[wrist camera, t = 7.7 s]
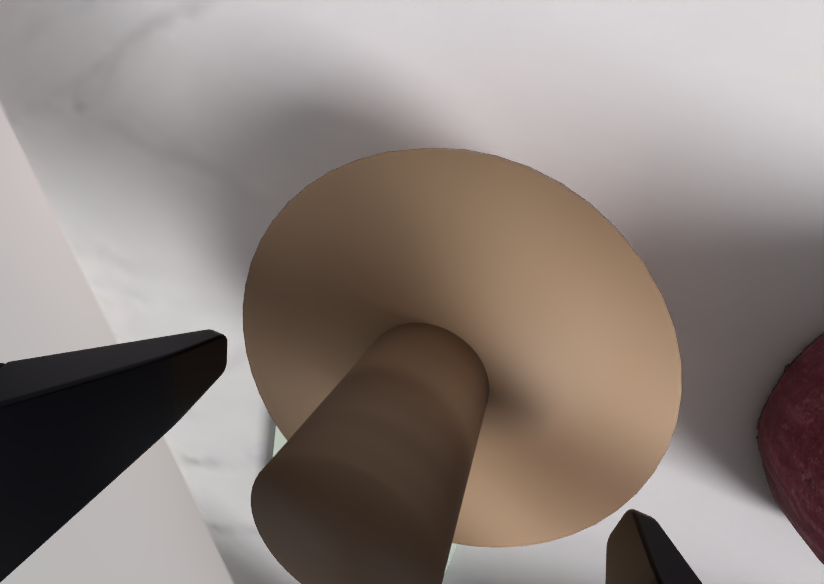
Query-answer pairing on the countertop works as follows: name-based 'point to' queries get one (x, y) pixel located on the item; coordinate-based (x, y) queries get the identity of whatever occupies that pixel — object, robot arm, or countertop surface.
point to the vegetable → (797, 444)
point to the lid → (449, 366)
